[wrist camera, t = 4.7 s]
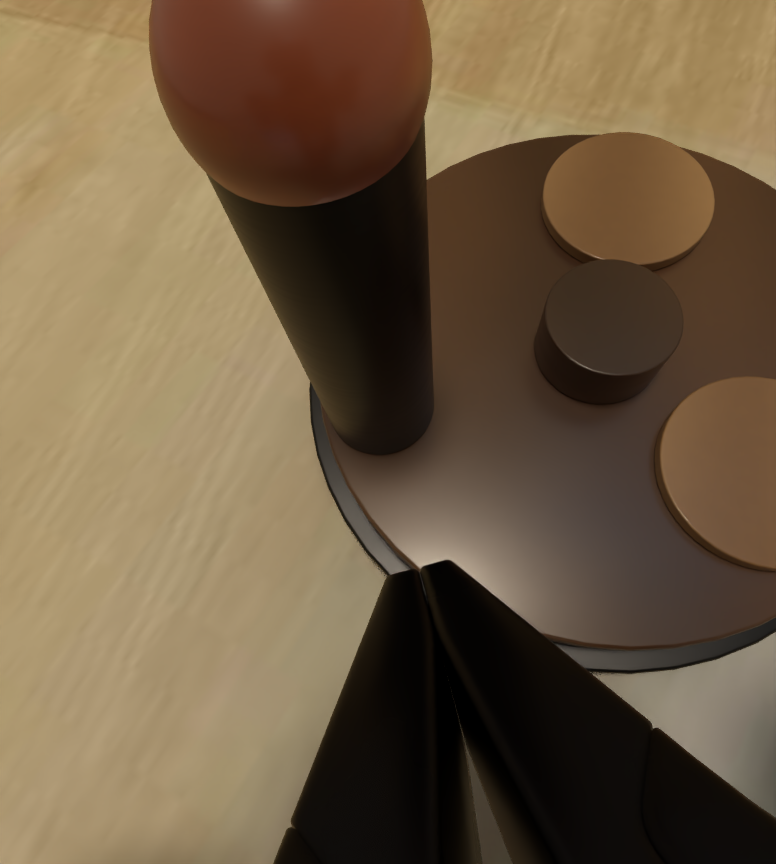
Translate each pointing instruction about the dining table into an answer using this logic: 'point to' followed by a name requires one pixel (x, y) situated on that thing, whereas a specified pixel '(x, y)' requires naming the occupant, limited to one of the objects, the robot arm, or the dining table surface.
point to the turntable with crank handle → (502, 322)
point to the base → (584, 656)
